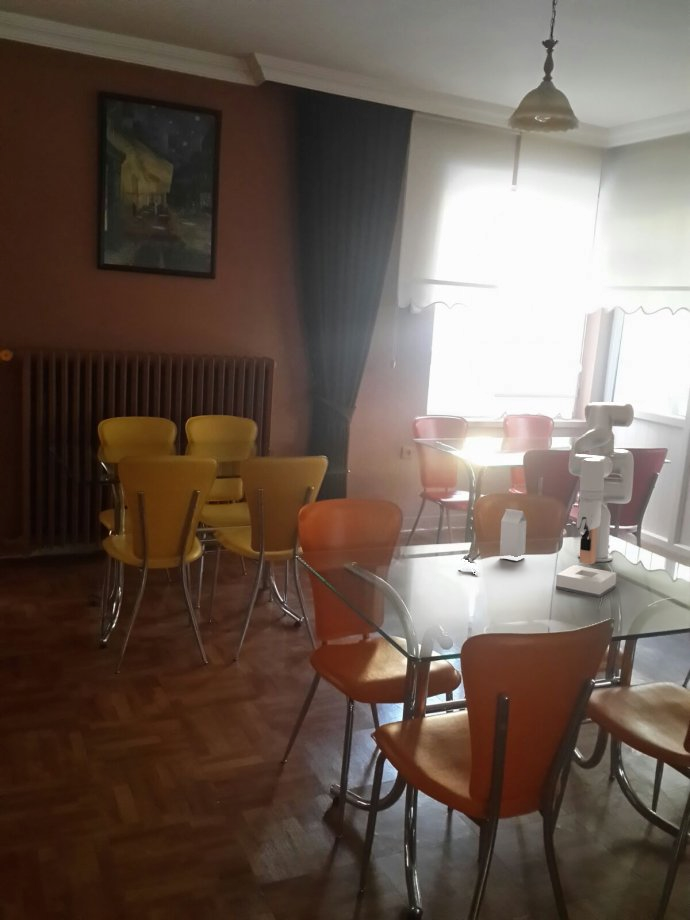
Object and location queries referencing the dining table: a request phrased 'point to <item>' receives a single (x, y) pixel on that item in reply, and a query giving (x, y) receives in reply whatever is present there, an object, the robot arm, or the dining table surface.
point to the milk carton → (513, 533)
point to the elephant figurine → (470, 559)
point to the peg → (590, 556)
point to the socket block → (586, 580)
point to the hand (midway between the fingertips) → (588, 548)
